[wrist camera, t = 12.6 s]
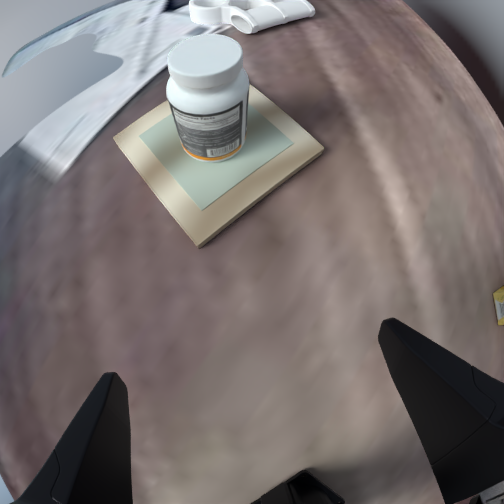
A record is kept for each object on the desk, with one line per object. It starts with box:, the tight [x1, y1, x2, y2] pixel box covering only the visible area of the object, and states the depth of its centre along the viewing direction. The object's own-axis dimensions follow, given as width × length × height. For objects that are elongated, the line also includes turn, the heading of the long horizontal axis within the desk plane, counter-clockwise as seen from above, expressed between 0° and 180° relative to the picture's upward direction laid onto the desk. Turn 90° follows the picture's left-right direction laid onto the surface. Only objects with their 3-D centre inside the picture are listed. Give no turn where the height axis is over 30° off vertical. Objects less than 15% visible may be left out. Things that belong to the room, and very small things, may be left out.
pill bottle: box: [166, 34, 250, 163], centre depth 19 cm, size 6×6×10 cm
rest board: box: [113, 85, 324, 249], centre depth 25 cm, size 14×14×1 cm
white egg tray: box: [189, 0, 315, 34], centre depth 30 cm, size 3×18×15 cm
